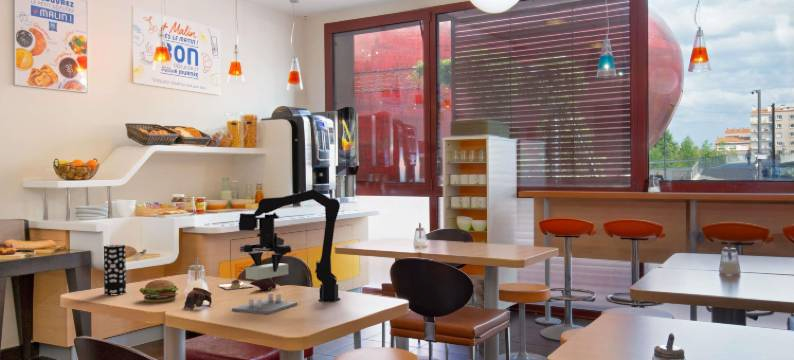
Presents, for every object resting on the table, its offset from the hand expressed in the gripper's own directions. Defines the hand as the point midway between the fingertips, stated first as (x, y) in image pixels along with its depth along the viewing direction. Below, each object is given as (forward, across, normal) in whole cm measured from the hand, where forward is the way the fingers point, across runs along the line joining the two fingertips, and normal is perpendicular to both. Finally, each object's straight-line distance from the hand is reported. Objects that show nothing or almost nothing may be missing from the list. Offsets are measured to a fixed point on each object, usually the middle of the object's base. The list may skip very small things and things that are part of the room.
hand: (267, 271), depth 256 cm
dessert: (+13, +35, -23) cm, 44 cm away
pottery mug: (+12, +18, +18) cm, 28 cm away
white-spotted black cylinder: (+12, +71, +10) cm, 73 cm away
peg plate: (+12, -6, +9) cm, 16 cm away
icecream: (+12, +18, -22) cm, 31 cm away
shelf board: (+2, 0, 0) cm, 2 cm away
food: (+12, +43, +13) cm, 47 cm away
